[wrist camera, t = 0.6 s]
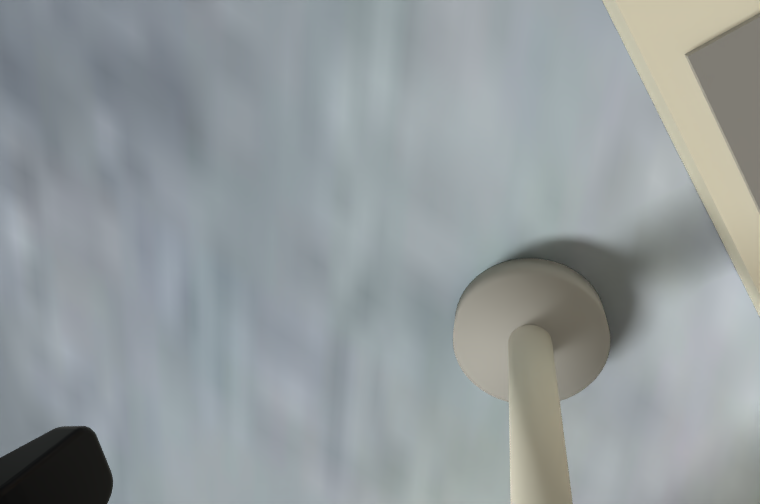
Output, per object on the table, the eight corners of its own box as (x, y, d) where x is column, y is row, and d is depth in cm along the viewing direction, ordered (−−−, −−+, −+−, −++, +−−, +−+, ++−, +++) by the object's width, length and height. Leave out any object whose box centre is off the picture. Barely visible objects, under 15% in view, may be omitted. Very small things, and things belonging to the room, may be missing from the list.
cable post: (630, 350, 22) (704, 585, 14) (499, 402, 24) (498, 636, 16) (561, 232, 21) (600, 418, 13) (428, 297, 22) (388, 495, 14)
